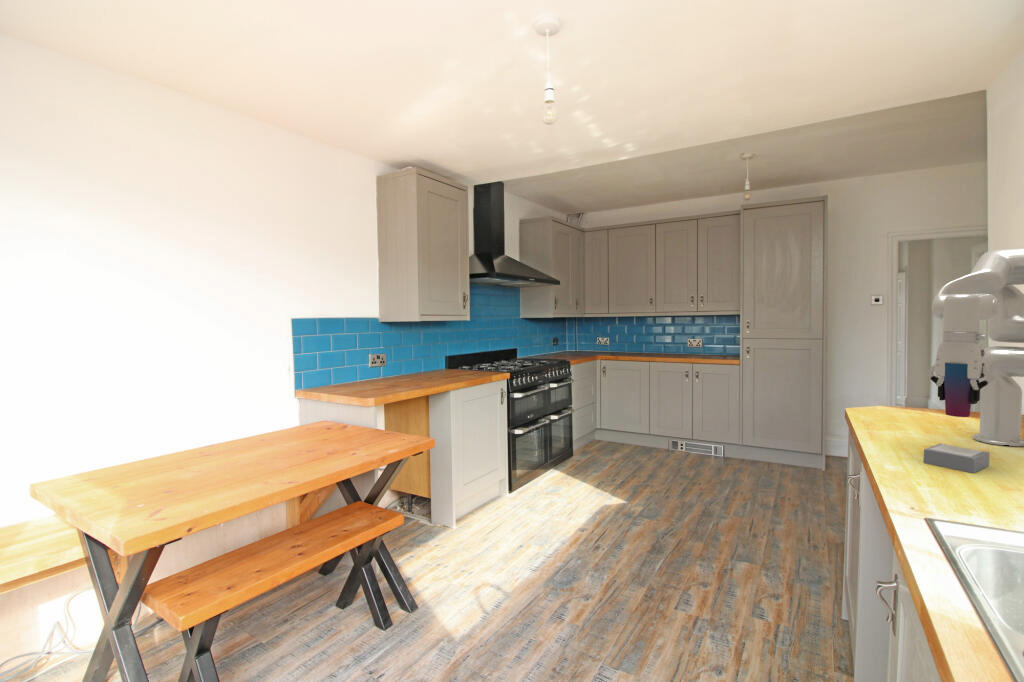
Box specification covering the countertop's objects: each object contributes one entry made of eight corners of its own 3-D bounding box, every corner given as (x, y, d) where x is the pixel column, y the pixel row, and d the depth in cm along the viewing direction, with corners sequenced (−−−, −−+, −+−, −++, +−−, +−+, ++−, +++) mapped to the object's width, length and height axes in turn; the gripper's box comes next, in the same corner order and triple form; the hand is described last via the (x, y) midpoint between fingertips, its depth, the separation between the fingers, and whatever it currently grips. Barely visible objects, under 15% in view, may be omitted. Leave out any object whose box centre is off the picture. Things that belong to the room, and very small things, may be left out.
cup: (980, 418, 134) (982, 364, 134) (951, 417, 136) (953, 363, 135) (962, 413, 141) (964, 361, 140) (935, 412, 142) (937, 361, 142)
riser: (939, 456, 147) (940, 443, 147) (988, 466, 137) (989, 451, 137) (923, 462, 141) (923, 448, 141) (973, 473, 132) (974, 458, 132)
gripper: (1007, 339, 132) (1004, 405, 133) (928, 336, 147) (926, 396, 148) (997, 340, 128) (994, 408, 129) (917, 337, 143) (914, 398, 144)
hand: (958, 401), depth 138 cm, fingers closed on cup, 6 cm apart
